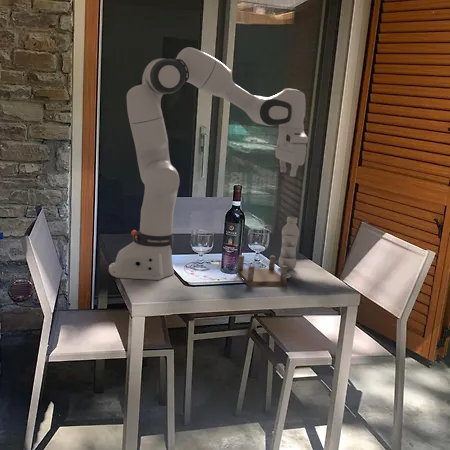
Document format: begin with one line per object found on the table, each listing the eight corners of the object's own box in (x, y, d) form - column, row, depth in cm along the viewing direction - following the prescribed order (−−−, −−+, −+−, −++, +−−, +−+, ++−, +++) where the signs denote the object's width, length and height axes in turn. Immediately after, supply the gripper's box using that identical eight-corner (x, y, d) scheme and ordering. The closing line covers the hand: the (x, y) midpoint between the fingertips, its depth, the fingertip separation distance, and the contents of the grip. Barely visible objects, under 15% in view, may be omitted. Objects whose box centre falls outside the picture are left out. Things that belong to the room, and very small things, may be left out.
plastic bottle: (294, 272, 214) (301, 220, 209) (276, 270, 215) (282, 218, 210) (296, 268, 220) (302, 217, 215) (278, 265, 221) (284, 214, 217)
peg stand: (247, 285, 195) (249, 267, 193) (236, 272, 208) (238, 255, 206) (286, 285, 199) (288, 267, 197) (272, 272, 212) (274, 255, 210)
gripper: (272, 132, 213) (269, 169, 216) (293, 138, 194) (289, 178, 197) (288, 133, 215) (285, 169, 218) (310, 138, 196) (306, 179, 199)
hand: (287, 174), depth 208 cm, fingers open, 8 cm apart
